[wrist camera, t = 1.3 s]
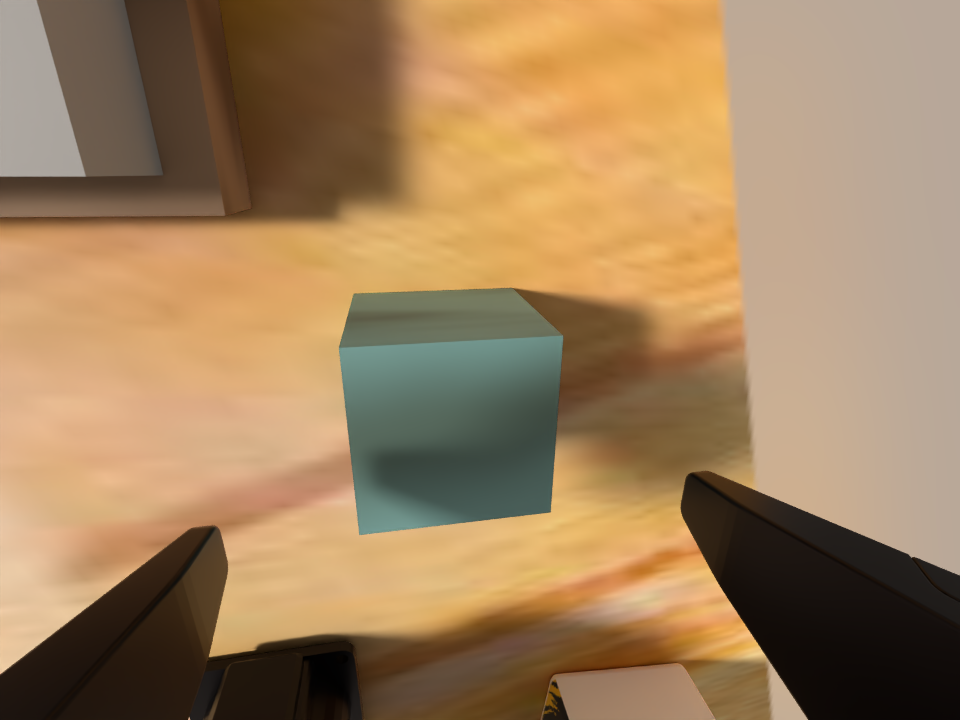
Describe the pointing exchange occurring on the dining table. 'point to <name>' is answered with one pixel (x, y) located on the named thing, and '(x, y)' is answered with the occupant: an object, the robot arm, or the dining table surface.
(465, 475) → the teal block
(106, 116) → the grey slab
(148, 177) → the walnut slab
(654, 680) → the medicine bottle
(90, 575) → the dining table surface
